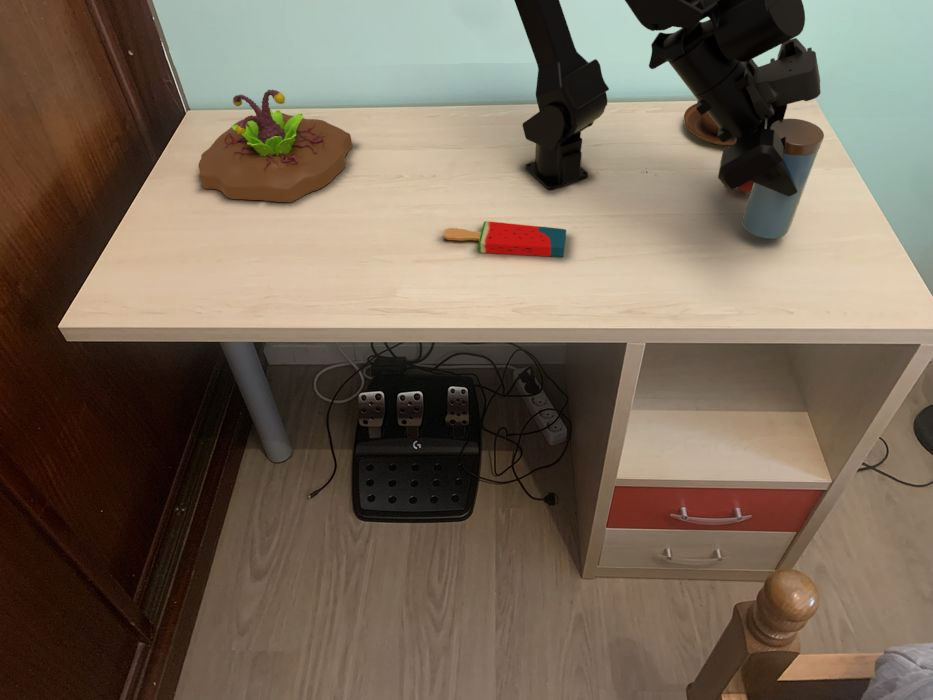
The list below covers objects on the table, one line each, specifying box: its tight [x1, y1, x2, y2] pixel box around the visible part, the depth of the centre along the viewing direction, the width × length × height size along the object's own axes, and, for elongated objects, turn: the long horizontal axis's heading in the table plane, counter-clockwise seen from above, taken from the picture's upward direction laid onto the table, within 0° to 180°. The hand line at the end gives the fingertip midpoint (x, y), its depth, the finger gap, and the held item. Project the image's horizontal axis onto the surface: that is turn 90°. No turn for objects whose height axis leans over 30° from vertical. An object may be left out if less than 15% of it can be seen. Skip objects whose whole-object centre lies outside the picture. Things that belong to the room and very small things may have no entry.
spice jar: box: [741, 118, 825, 239], centre depth 84 cm, size 6×6×12 cm
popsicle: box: [442, 220, 567, 258], centre depth 91 cm, size 5×2×15 cm
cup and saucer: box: [683, 102, 736, 147], centre depth 105 cm, size 12×12×6 cm
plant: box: [197, 89, 353, 203], centre depth 101 cm, size 20×20×11 cm
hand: (793, 179), depth 84 cm, fingers closed on spice jar, 5 cm apart
